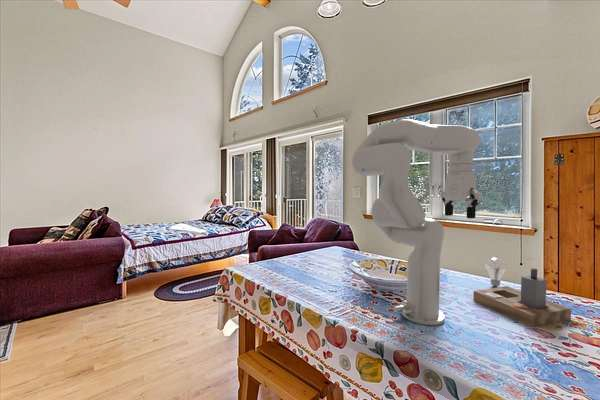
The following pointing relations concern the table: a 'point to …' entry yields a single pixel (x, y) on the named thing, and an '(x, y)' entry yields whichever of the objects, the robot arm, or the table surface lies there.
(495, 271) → the light bulb
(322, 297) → the table surface
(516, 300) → the socket block
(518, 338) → the table surface
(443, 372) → the table surface
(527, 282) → the plug
